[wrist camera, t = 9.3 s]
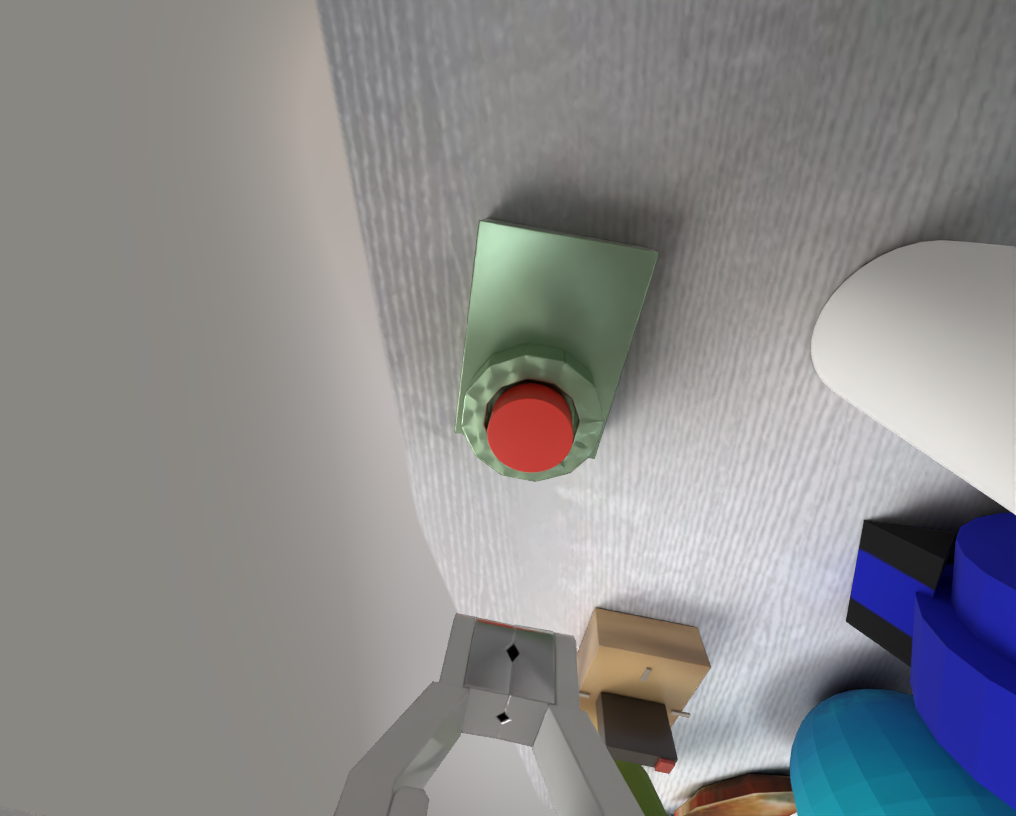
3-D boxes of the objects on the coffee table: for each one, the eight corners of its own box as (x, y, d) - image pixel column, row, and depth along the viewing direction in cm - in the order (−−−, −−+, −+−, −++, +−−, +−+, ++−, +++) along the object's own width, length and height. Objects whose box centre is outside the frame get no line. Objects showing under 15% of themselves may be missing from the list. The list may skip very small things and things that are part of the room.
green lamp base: (486, 218, 20) (471, 221, 16) (648, 247, 20) (670, 257, 16) (460, 428, 25) (445, 464, 22) (587, 452, 25) (593, 493, 22)
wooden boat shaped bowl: (675, 807, 44) (679, 830, 43) (654, 783, 42) (659, 806, 41) (818, 788, 40) (829, 813, 38) (802, 760, 38) (813, 785, 36)
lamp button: (498, 375, 20) (493, 390, 18) (580, 391, 19) (582, 407, 18) (486, 445, 21) (481, 464, 20) (561, 459, 21) (562, 479, 20)
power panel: (587, 606, 31) (590, 645, 28) (705, 628, 31) (720, 671, 28) (554, 692, 37) (554, 733, 34) (654, 712, 37) (663, 754, 34)
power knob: (595, 702, 32) (600, 761, 28) (600, 691, 31) (606, 749, 28) (658, 715, 32) (671, 775, 28) (665, 704, 31) (679, 764, 28)
